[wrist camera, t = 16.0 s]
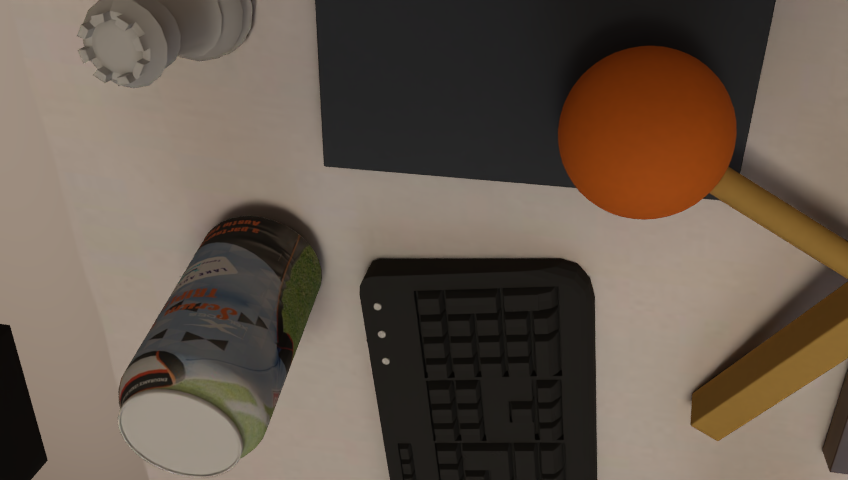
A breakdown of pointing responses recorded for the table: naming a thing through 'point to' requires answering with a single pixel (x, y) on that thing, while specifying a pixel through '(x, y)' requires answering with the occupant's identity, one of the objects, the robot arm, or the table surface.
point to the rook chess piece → (159, 35)
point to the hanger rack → (838, 435)
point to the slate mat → (503, 76)
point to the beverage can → (220, 349)
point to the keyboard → (483, 367)
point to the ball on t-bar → (684, 187)
